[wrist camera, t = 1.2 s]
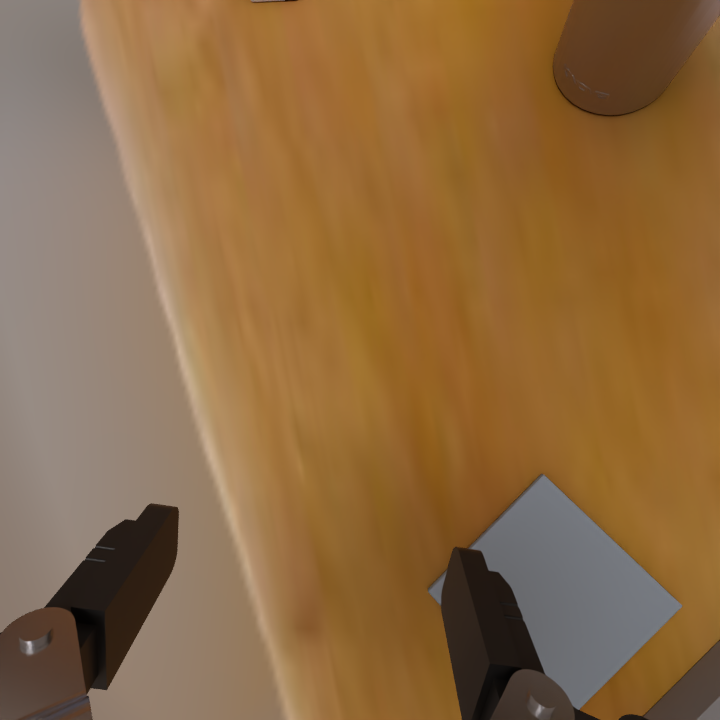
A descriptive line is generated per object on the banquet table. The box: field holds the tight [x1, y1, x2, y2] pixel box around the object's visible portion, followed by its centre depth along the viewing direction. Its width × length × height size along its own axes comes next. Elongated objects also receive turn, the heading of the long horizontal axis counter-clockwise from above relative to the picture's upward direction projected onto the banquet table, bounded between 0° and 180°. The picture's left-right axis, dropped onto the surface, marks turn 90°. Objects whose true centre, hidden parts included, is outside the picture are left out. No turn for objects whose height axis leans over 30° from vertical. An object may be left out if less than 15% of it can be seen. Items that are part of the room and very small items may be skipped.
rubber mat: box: [428, 474, 682, 710], centre depth 32 cm, size 12×12×1 cm
